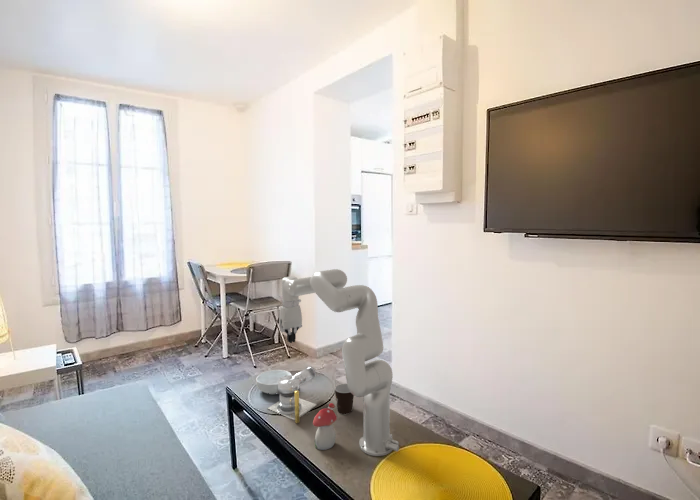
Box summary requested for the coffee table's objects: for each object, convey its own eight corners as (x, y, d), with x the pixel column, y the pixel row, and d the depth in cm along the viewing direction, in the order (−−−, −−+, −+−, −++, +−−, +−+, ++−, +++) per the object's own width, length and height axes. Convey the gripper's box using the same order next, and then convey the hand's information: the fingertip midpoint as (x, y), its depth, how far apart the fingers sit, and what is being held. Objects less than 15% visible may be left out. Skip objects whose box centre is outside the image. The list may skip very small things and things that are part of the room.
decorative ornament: (334, 437, 139) (333, 399, 137) (340, 447, 133) (340, 408, 131) (310, 443, 135) (310, 404, 134) (315, 453, 129) (315, 413, 128)
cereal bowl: (298, 385, 181) (297, 371, 180) (282, 401, 165) (281, 386, 165) (267, 380, 186) (267, 367, 186) (249, 396, 171) (249, 381, 170)
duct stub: (297, 425, 147) (296, 392, 145) (264, 411, 157) (263, 381, 156) (321, 407, 160) (321, 377, 159) (289, 395, 170) (289, 368, 169)
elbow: (289, 398, 151) (289, 385, 151) (273, 392, 156) (272, 380, 156) (318, 380, 168) (318, 368, 167) (303, 375, 173) (303, 364, 172)
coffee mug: (353, 416, 153) (352, 393, 152) (333, 414, 154) (332, 392, 153) (357, 402, 164) (356, 381, 163) (338, 400, 165) (337, 379, 165)
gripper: (300, 299, 177) (301, 336, 179) (271, 304, 167) (272, 343, 169) (308, 302, 171) (309, 340, 173) (279, 307, 162) (280, 347, 163)
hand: (291, 341), depth 171 cm, fingers closed
